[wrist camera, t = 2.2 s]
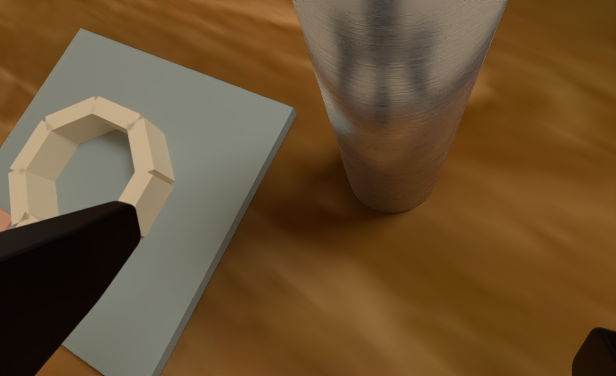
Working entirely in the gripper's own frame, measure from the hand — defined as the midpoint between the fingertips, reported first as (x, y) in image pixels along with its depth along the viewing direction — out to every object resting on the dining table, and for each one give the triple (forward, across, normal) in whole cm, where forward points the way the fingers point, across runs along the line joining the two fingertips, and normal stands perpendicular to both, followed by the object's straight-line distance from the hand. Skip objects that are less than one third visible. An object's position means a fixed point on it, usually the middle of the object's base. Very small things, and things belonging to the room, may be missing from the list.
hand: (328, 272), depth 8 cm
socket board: (+9, +15, +7) cm, 19 cm away
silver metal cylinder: (+12, 0, +4) cm, 13 cm away
